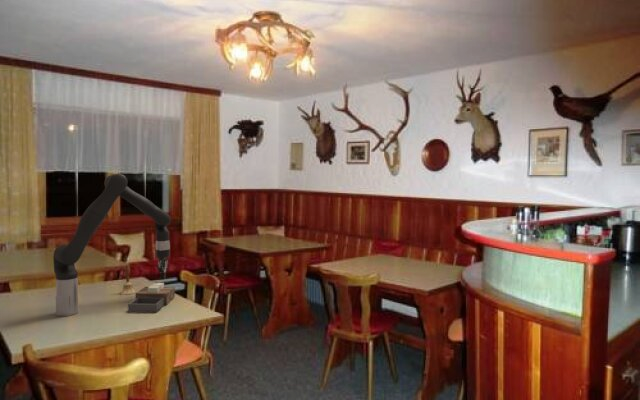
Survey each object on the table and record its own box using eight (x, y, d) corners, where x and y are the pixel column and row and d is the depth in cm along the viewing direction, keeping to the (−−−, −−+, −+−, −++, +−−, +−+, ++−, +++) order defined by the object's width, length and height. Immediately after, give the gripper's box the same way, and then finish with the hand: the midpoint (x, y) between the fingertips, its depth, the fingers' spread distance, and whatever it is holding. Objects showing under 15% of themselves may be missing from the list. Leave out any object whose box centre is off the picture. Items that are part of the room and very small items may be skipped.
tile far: (161, 289, 245) (160, 285, 245) (151, 289, 245) (151, 285, 244) (163, 287, 250) (163, 282, 250) (154, 287, 250) (154, 282, 249)
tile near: (157, 292, 239) (157, 288, 239) (147, 292, 239) (147, 287, 238) (160, 290, 244) (160, 285, 244) (150, 290, 244) (150, 285, 243)
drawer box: (166, 305, 237) (166, 293, 237) (135, 304, 237) (135, 293, 236) (174, 297, 251) (174, 287, 251) (145, 297, 251) (145, 286, 250)
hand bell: (132, 295, 255) (131, 266, 254) (117, 294, 255) (117, 266, 254) (138, 291, 264) (138, 263, 263) (123, 290, 264) (123, 263, 263)
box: (156, 312, 225) (156, 304, 225) (128, 312, 225) (128, 304, 224) (164, 305, 237) (164, 297, 237) (137, 305, 237) (137, 297, 236)
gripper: (159, 246, 261) (160, 276, 262) (151, 250, 248) (152, 282, 249) (173, 246, 261) (173, 276, 262) (165, 250, 248) (166, 282, 249)
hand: (163, 279), depth 256 cm, fingers closed
